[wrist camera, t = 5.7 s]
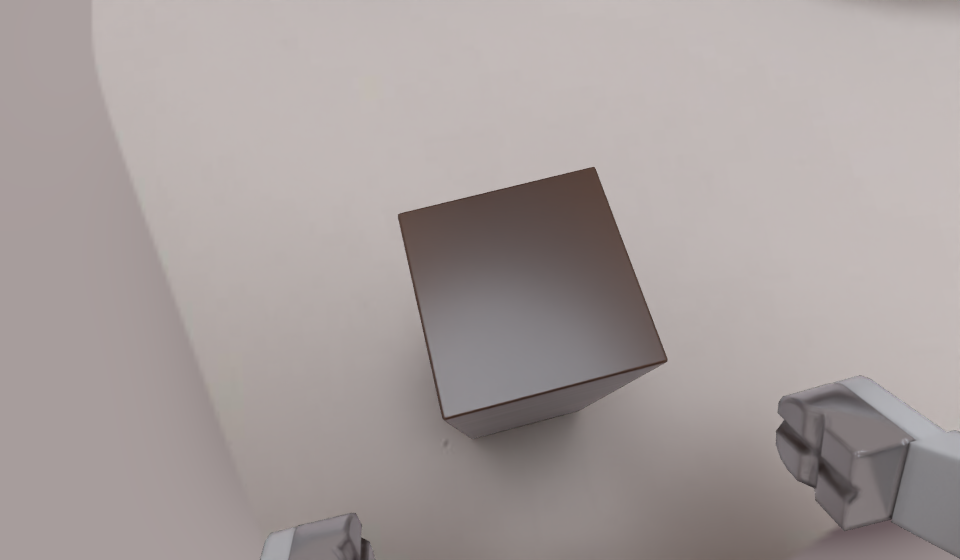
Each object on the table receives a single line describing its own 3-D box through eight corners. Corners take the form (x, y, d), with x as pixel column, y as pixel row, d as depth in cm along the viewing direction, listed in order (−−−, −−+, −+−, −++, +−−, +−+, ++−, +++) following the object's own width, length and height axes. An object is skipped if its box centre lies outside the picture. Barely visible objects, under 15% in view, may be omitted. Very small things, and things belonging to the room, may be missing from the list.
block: (471, 439, 18) (443, 420, 9) (445, 332, 19) (396, 213, 10) (579, 410, 18) (669, 361, 9) (547, 306, 19) (595, 165, 10)
